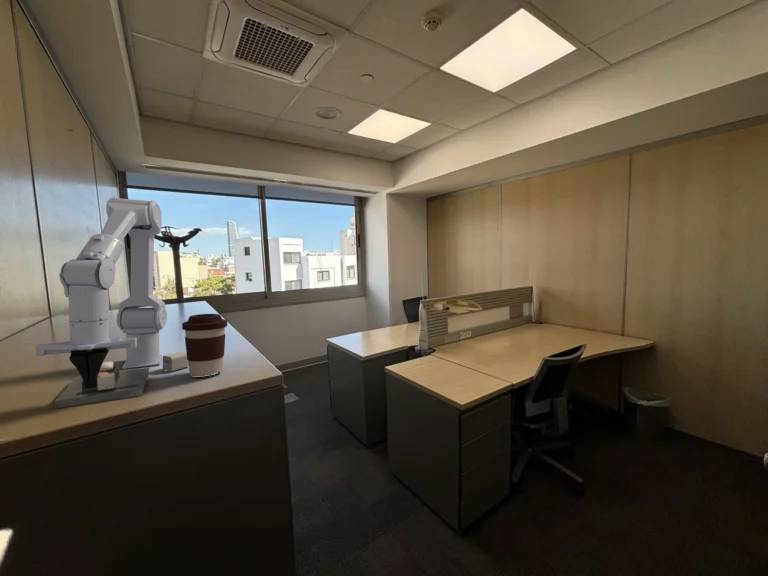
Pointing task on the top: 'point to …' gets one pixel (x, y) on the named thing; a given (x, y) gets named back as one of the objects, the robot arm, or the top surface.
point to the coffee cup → (205, 343)
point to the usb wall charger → (175, 361)
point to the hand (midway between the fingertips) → (90, 386)
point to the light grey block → (106, 381)
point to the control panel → (125, 387)
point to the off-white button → (106, 366)
